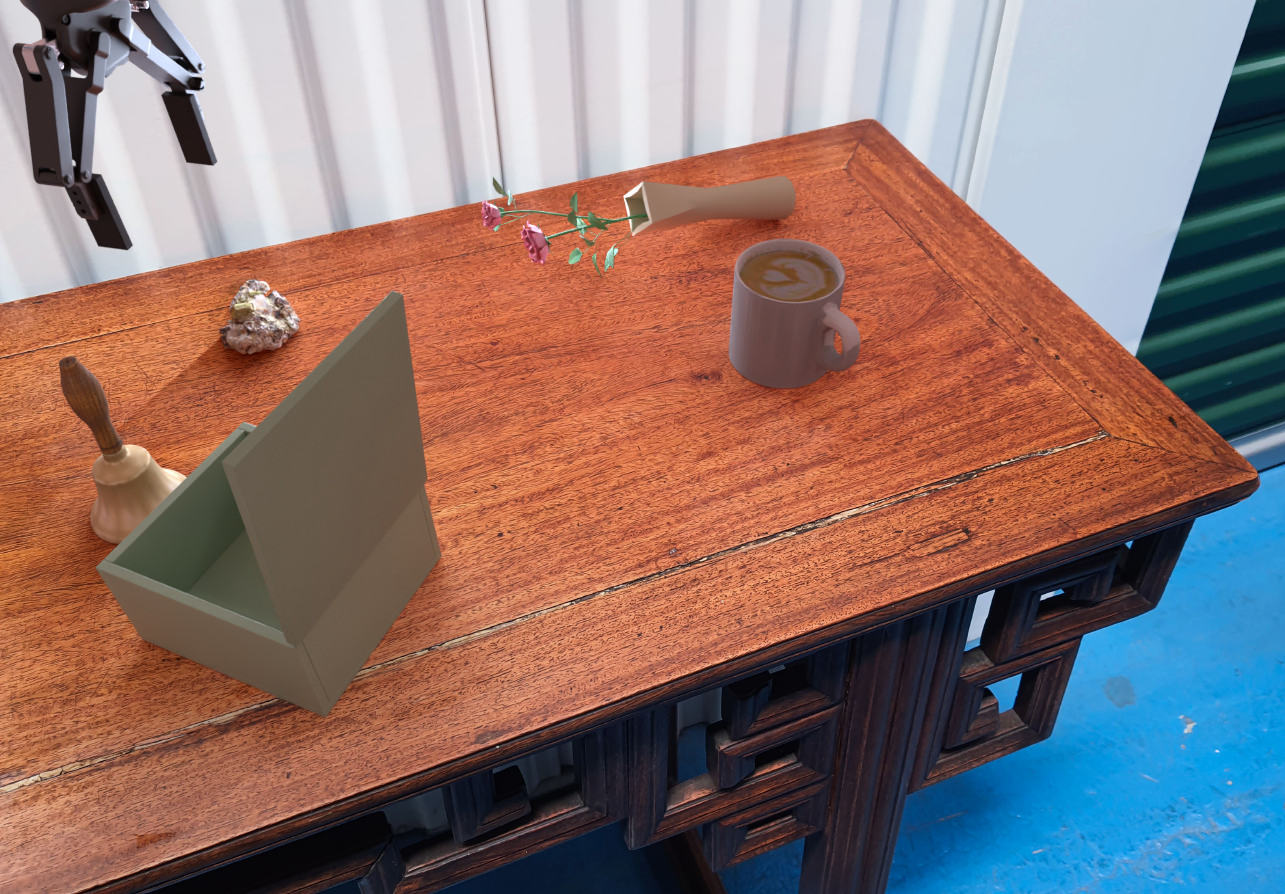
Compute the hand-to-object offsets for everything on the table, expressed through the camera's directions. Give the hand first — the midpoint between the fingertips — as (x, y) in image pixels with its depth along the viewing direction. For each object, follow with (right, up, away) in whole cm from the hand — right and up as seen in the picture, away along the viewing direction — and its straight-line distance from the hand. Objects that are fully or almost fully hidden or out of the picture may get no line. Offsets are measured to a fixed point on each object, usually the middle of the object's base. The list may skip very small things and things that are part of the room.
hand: (161, 202), depth 86 cm
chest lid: (+23, -23, -24) cm, 40 cm away
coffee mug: (+56, -13, +10) cm, 58 cm away
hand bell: (0, -26, -2) cm, 26 cm away
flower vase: (+42, 0, +22) cm, 48 cm away
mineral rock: (+3, -9, +14) cm, 17 cm away
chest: (+15, -33, -9) cm, 37 cm away
